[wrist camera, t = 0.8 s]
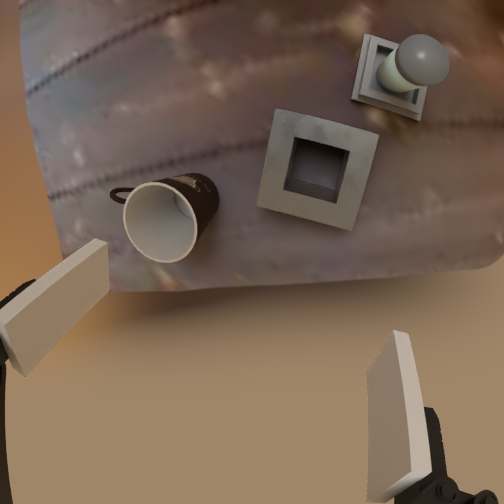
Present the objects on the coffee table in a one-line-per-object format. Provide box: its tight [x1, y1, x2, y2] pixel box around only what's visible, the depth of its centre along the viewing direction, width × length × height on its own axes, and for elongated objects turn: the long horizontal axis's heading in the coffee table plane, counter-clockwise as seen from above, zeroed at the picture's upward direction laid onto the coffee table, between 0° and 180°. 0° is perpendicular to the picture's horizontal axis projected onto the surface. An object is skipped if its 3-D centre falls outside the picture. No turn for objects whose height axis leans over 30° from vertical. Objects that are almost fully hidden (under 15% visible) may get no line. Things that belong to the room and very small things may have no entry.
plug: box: [376, 34, 450, 94], centre depth 22 cm, size 4×4×12 cm
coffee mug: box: [110, 173, 219, 263], centre depth 35 cm, size 12×9×10 cm
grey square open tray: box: [351, 33, 427, 121], centre depth 27 cm, size 8×8×3 cm
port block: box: [256, 108, 379, 231], centre depth 32 cm, size 10×10×6 cm
